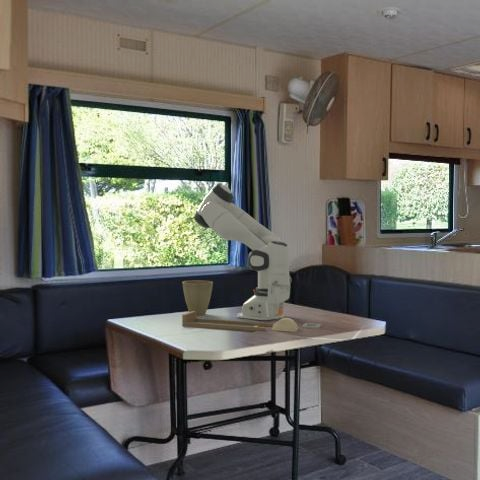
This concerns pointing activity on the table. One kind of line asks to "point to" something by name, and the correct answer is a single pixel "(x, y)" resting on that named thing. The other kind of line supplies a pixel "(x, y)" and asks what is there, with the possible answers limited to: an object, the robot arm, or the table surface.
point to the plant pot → (197, 295)
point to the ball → (279, 312)
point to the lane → (237, 324)
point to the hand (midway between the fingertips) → (278, 312)
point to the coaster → (311, 325)
